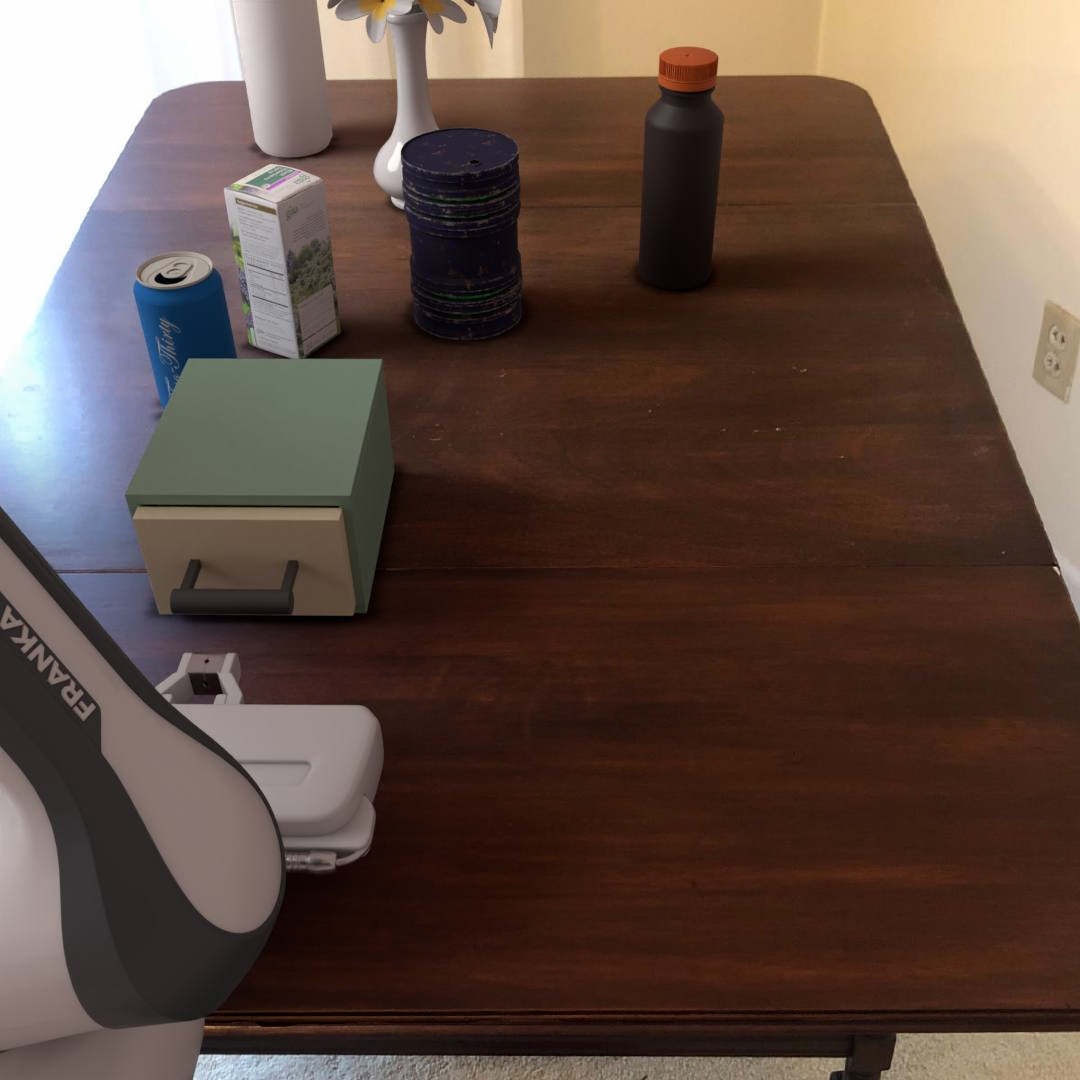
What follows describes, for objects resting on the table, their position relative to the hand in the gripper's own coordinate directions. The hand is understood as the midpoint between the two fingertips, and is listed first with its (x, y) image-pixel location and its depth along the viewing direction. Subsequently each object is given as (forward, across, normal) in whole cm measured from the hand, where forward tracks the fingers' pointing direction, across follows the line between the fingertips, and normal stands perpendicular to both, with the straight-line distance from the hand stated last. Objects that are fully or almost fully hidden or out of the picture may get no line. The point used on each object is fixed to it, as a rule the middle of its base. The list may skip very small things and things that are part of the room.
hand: (213, 660), depth 68 cm
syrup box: (+44, +4, +6) cm, 45 cm away
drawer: (+14, 0, +5) cm, 15 cm away
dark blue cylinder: (+49, -10, +6) cm, 51 cm away
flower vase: (+74, -5, +6) cm, 74 cm away
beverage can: (+34, +10, +6) cm, 36 cm away
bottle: (+57, -29, +6) cm, 64 cm away
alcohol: (+88, +12, +6) cm, 89 cm away
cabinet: (+18, 0, +6) cm, 19 cm away
